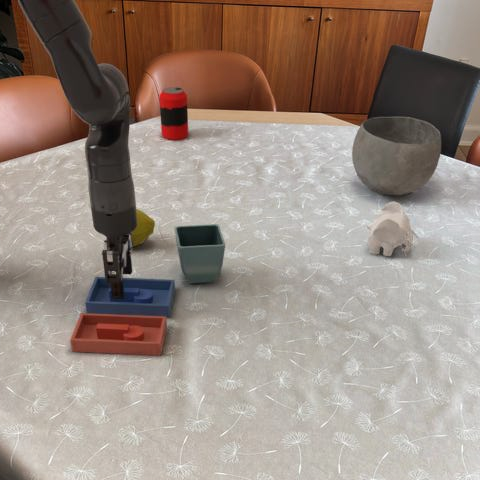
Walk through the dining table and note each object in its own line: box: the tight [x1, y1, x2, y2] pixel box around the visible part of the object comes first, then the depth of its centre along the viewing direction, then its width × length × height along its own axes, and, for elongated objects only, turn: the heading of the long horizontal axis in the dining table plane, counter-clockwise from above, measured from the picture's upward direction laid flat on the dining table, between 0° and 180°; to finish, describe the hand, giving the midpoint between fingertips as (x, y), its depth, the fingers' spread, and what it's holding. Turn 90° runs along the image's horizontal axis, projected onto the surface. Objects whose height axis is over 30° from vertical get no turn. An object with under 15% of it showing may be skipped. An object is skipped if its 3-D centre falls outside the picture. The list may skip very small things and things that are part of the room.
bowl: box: [351, 116, 442, 196], centre depth 156 cm, size 20×20×15 cm
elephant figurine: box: [363, 201, 421, 257], centre depth 136 cm, size 10×12×9 cm
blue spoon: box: [109, 287, 153, 304], centre depth 121 cm, size 8×4×2 cm, turn 88°
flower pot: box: [173, 223, 226, 284], centre depth 126 cm, size 9×9×9 cm
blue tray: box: [84, 276, 176, 318], centre depth 121 cm, size 15×9×2 cm, turn 88°
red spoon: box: [96, 323, 144, 341], centre depth 113 cm, size 8×4×2 cm, turn 87°
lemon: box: [132, 208, 156, 247], centre depth 136 cm, size 11×8×8 cm
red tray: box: [69, 312, 168, 356], centre depth 113 cm, size 15×8×2 cm, turn 88°
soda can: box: [158, 86, 189, 141], centre depth 181 cm, size 8×8×12 cm
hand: (122, 285), depth 120 cm, fingers open, 8 cm apart
